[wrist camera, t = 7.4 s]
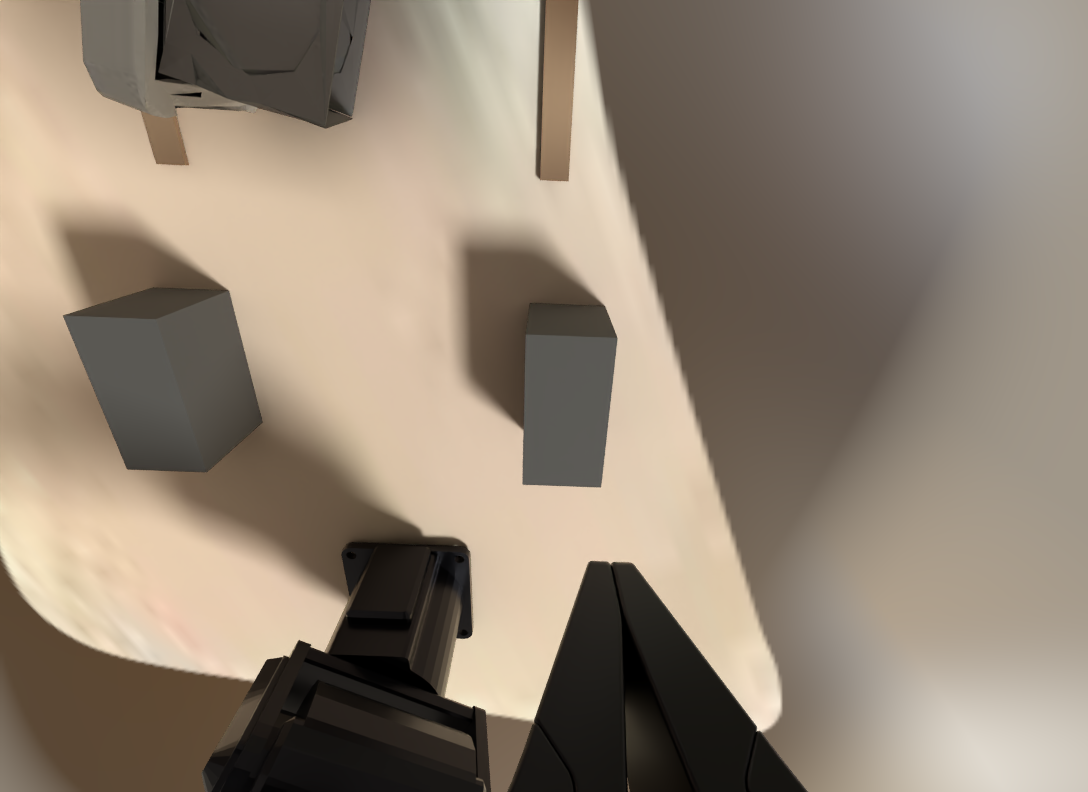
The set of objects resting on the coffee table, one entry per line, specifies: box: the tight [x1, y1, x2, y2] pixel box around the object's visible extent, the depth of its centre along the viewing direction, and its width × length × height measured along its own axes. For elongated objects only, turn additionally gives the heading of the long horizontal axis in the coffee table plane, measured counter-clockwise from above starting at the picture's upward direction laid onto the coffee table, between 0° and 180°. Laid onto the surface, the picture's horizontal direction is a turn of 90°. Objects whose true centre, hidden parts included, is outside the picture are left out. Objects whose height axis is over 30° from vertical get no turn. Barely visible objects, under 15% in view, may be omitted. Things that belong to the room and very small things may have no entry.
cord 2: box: [63, 288, 262, 472], centre depth 18 cm, size 6×3×4 cm, turn 178°
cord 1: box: [523, 303, 617, 487], centre depth 19 cm, size 6×3×4 cm, turn 178°
